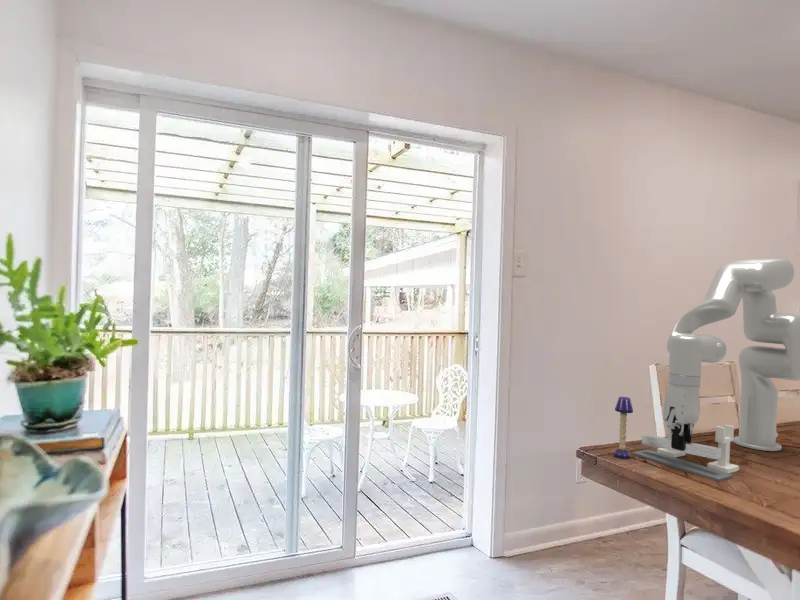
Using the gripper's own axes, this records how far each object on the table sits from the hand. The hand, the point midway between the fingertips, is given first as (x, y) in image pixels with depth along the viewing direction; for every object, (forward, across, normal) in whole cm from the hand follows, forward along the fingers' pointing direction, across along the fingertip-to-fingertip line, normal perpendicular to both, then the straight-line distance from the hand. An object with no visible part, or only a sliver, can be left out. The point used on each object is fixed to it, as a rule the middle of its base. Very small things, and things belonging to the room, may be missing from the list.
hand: (680, 448), depth 135 cm
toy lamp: (+5, +8, -12) cm, 15 cm away
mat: (+5, 0, 0) cm, 5 cm away
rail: (0, 0, 0) cm, 1 cm away
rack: (+5, -8, 0) cm, 9 cm away
